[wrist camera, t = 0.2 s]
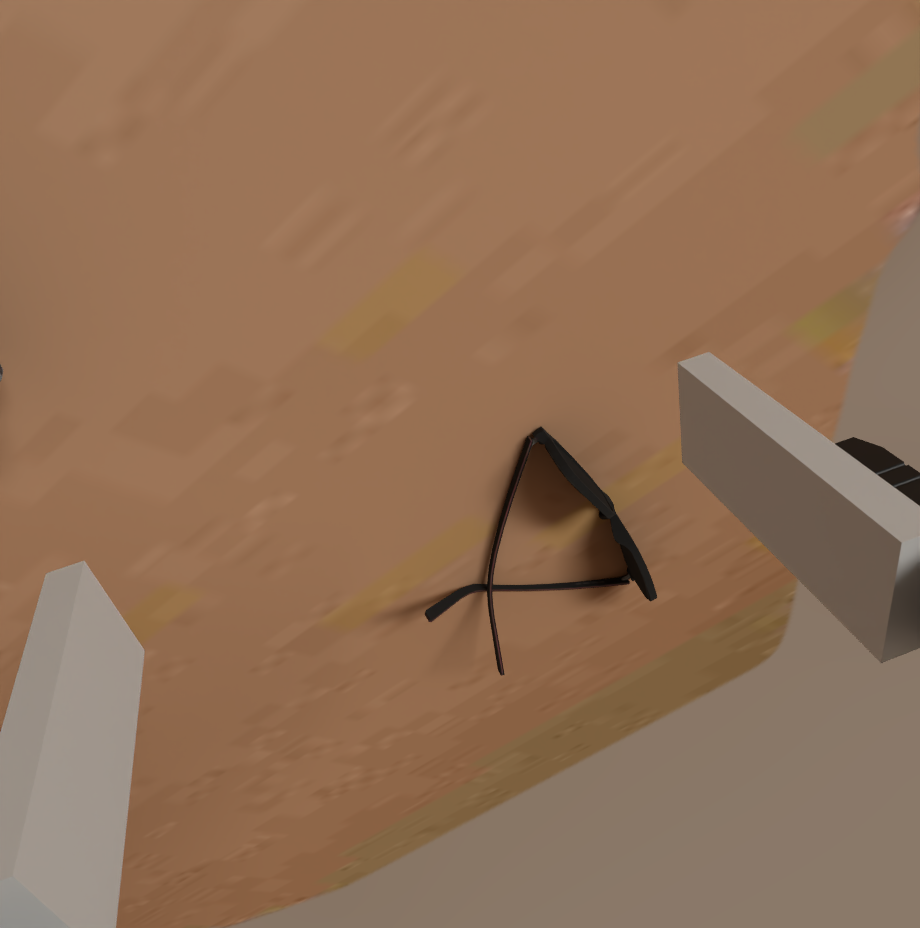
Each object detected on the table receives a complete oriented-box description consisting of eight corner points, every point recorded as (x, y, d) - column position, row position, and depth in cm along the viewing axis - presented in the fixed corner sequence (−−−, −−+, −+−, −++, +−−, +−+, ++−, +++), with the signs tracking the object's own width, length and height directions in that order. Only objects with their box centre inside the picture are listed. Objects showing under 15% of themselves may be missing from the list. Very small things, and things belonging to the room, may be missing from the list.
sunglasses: (371, 537, 50) (386, 586, 46) (554, 411, 48) (585, 450, 44) (494, 662, 59) (515, 712, 55) (649, 560, 58) (682, 604, 54)
